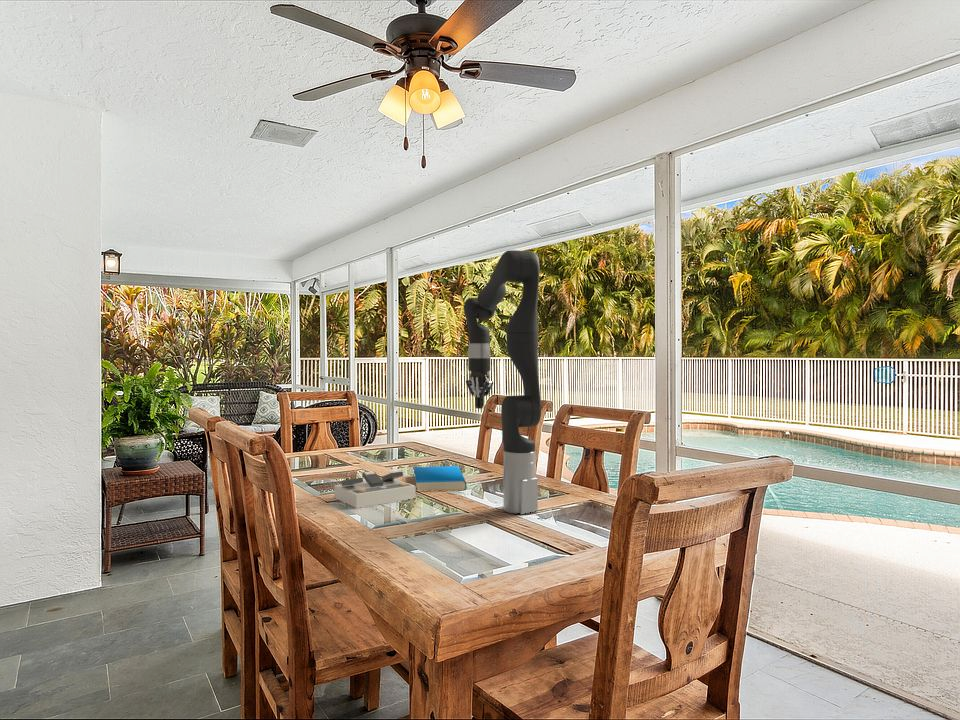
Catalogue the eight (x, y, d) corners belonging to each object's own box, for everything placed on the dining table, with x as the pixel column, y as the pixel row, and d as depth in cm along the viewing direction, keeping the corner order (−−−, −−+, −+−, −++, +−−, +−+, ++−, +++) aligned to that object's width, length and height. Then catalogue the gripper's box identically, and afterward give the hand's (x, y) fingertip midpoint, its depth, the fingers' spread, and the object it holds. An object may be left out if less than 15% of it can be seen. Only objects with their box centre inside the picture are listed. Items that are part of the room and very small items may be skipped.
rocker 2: (382, 485, 187) (383, 481, 186) (371, 487, 184) (372, 482, 184) (373, 474, 192) (374, 470, 192) (361, 476, 190) (362, 472, 189)
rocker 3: (403, 475, 191) (402, 471, 191) (392, 477, 188) (391, 472, 189) (393, 479, 196) (392, 474, 196) (382, 481, 193) (381, 476, 194)
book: (415, 481, 196) (413, 466, 221) (415, 494, 196) (413, 477, 221) (467, 479, 198) (459, 464, 223) (467, 492, 198) (459, 476, 223)
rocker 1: (363, 482, 182) (362, 477, 182) (351, 483, 180) (350, 478, 180) (353, 484, 188) (353, 479, 188) (341, 486, 185) (341, 481, 185)
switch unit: (415, 498, 186) (415, 484, 186) (356, 508, 174) (356, 493, 174) (390, 489, 199) (390, 476, 199) (334, 497, 187) (334, 483, 187)
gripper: (500, 357, 198) (500, 409, 198) (476, 357, 209) (476, 406, 209) (482, 357, 194) (482, 410, 194) (459, 357, 204) (458, 407, 204)
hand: (479, 408), depth 201 cm, fingers closed
